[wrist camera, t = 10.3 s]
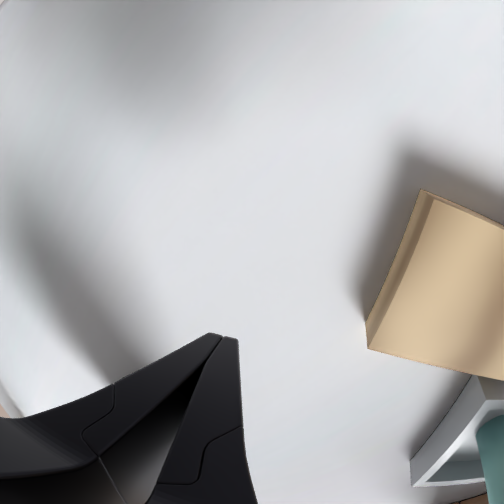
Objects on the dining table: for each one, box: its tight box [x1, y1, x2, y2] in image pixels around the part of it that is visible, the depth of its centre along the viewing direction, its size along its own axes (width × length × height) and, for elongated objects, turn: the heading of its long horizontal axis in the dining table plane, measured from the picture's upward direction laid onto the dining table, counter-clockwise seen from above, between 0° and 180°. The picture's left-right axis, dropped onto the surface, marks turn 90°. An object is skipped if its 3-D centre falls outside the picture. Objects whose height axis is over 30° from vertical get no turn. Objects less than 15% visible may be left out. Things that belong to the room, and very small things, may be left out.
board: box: [365, 189, 504, 381], centre depth 12 cm, size 10×7×2 cm
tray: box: [410, 375, 504, 487], centre depth 14 cm, size 10×10×2 cm
